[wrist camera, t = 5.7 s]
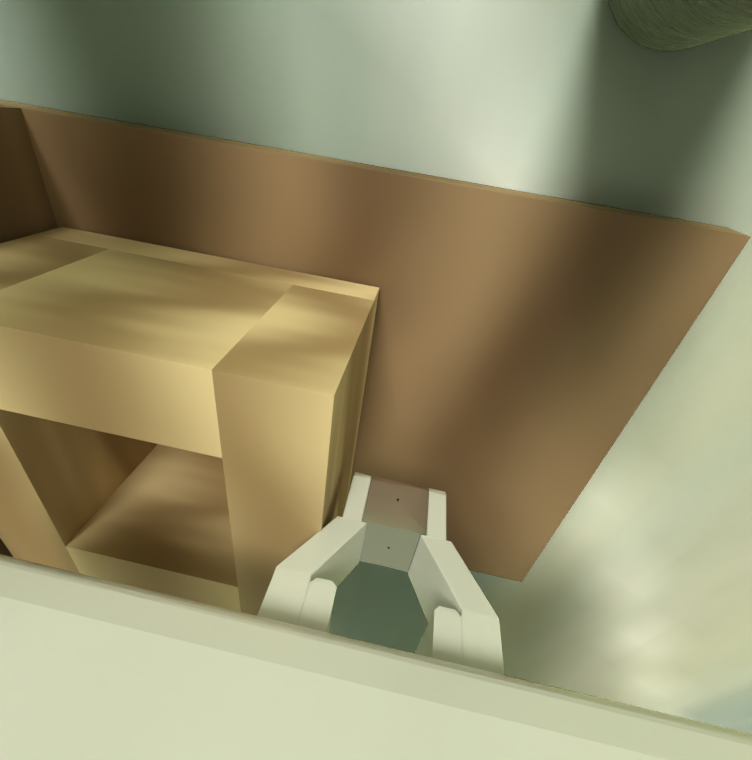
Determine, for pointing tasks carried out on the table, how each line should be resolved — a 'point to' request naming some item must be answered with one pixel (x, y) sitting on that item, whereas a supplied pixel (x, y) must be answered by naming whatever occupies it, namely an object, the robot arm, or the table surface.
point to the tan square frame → (173, 411)
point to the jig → (413, 299)
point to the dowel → (681, 21)
